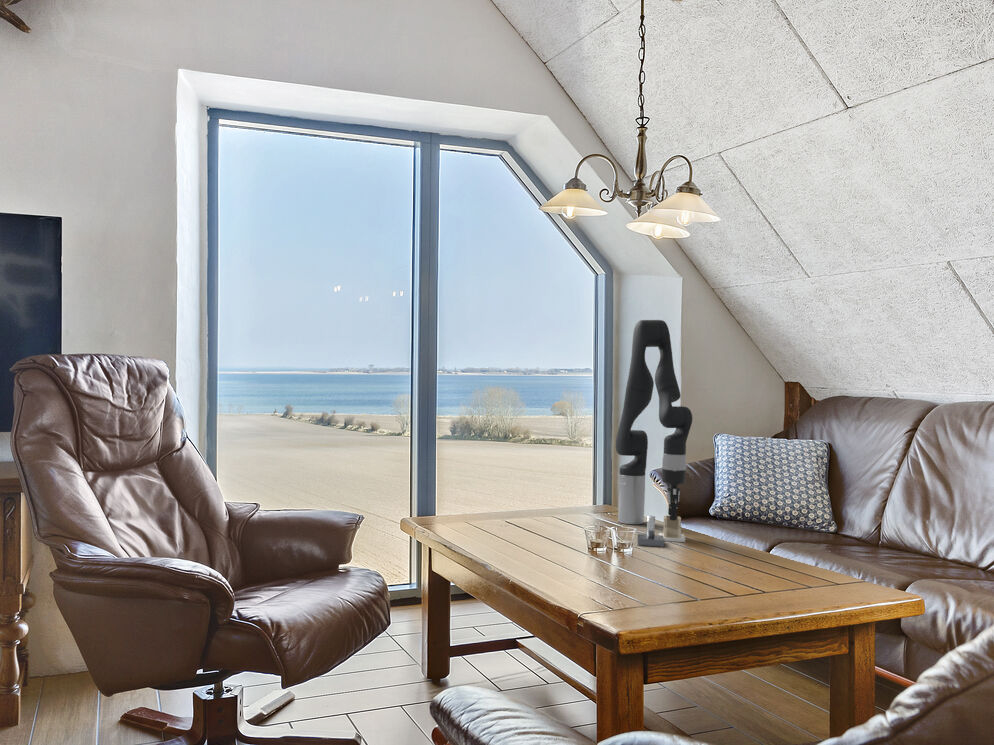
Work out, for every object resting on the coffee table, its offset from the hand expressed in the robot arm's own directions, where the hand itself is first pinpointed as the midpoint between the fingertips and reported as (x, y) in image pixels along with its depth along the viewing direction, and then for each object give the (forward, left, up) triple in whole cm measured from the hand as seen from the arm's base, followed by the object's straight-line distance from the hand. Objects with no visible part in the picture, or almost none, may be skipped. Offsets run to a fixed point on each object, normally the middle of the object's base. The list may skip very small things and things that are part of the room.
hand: (672, 517), depth 267 cm
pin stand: (+10, -7, -7) cm, 14 cm away
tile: (0, 0, -7) cm, 7 cm away
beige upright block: (0, 0, -6) cm, 6 cm away
